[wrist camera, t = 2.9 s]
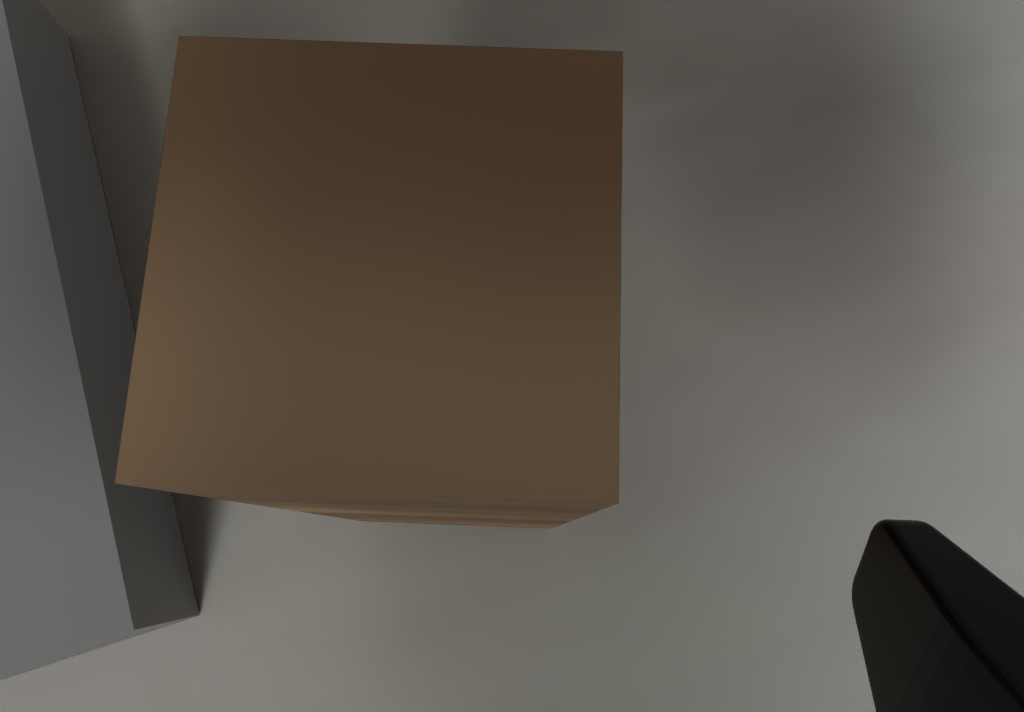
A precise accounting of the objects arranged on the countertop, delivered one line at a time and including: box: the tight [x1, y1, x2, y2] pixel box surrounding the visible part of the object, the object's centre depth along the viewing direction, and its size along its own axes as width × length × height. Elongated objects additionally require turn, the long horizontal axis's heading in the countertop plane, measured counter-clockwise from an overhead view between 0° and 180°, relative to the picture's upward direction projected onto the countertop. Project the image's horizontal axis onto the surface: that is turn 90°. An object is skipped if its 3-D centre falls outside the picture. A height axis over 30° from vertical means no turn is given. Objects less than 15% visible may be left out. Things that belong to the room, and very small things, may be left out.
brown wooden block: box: [115, 36, 623, 528], centre depth 12 cm, size 4×4×11 cm
